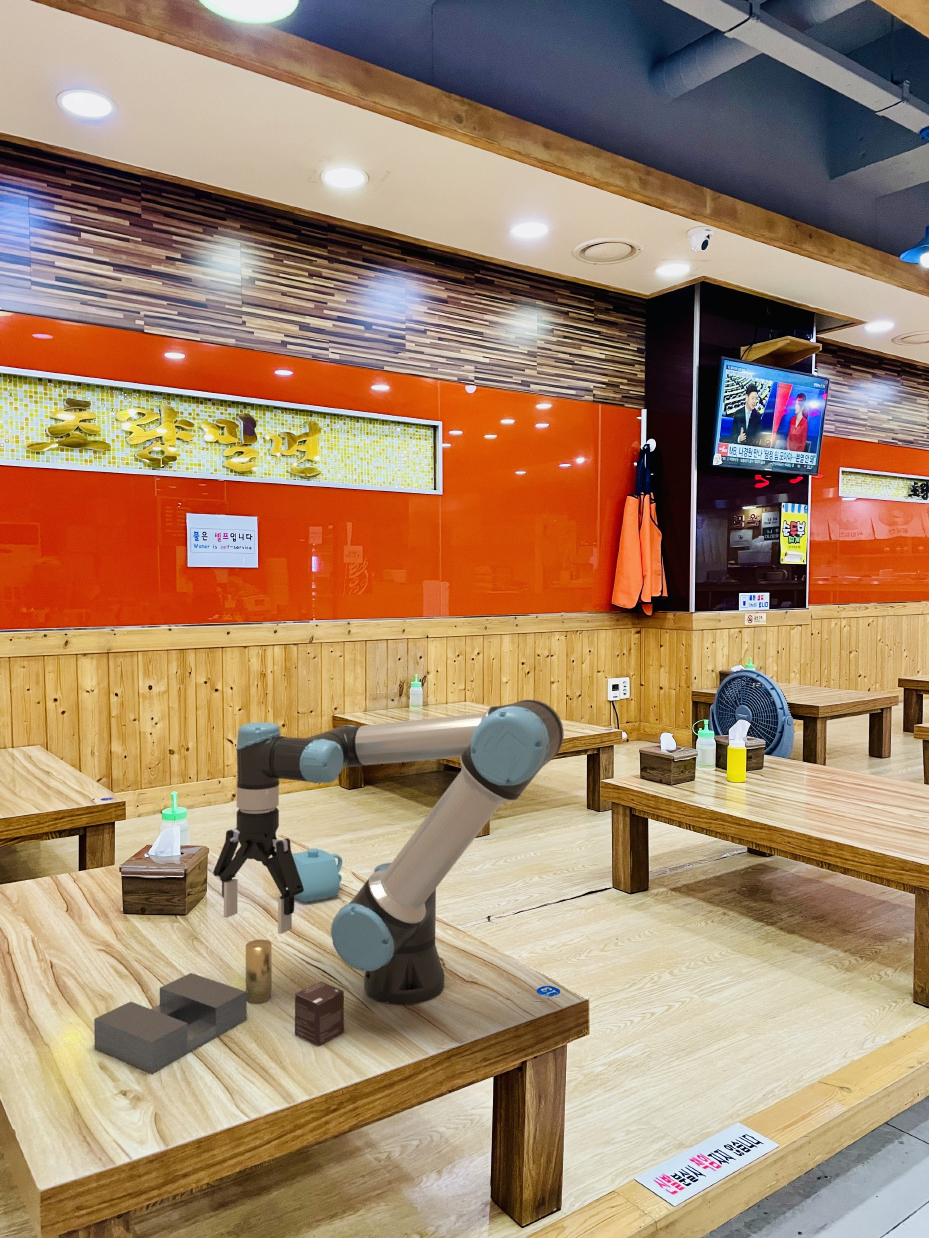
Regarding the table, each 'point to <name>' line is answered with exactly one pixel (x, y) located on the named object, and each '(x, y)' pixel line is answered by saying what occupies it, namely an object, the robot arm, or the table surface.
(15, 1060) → the table surface
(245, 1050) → the table surface
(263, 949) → the gold cylinder
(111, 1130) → the table surface
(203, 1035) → the jig
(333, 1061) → the table surface
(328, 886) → the teapot
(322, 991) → the box
